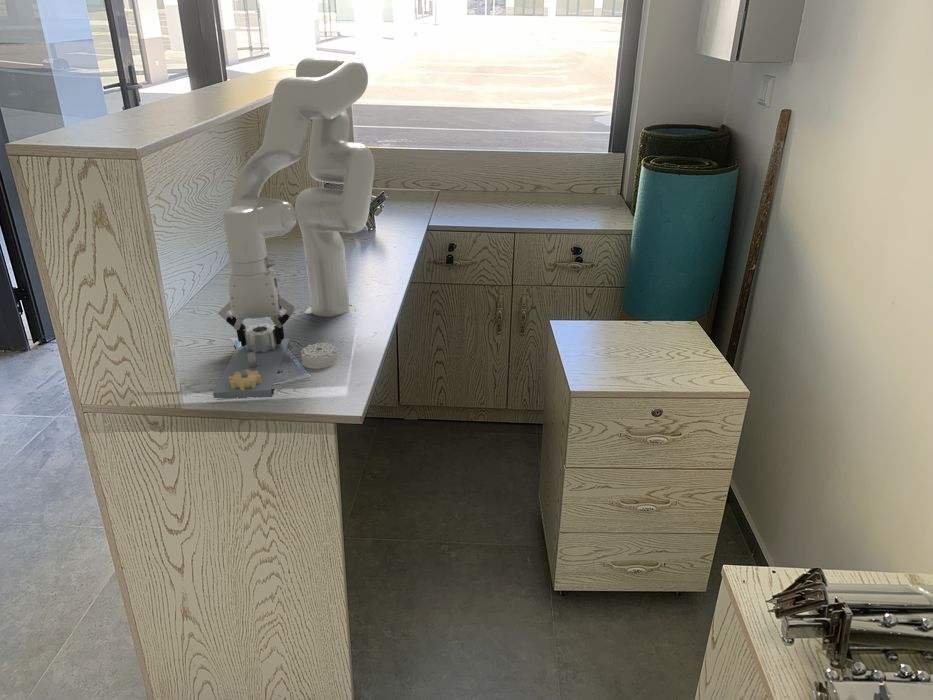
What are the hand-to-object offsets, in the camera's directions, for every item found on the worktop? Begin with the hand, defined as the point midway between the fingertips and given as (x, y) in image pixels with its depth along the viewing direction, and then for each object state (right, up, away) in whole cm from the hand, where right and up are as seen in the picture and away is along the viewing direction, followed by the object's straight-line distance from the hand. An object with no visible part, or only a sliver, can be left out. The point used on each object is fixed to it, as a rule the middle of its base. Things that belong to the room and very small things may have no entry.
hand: (262, 342), depth 153 cm
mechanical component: (+14, -6, -5) cm, 16 cm away
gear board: (0, -6, -6) cm, 9 cm away
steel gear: (0, -1, 0) cm, 1 cm away
